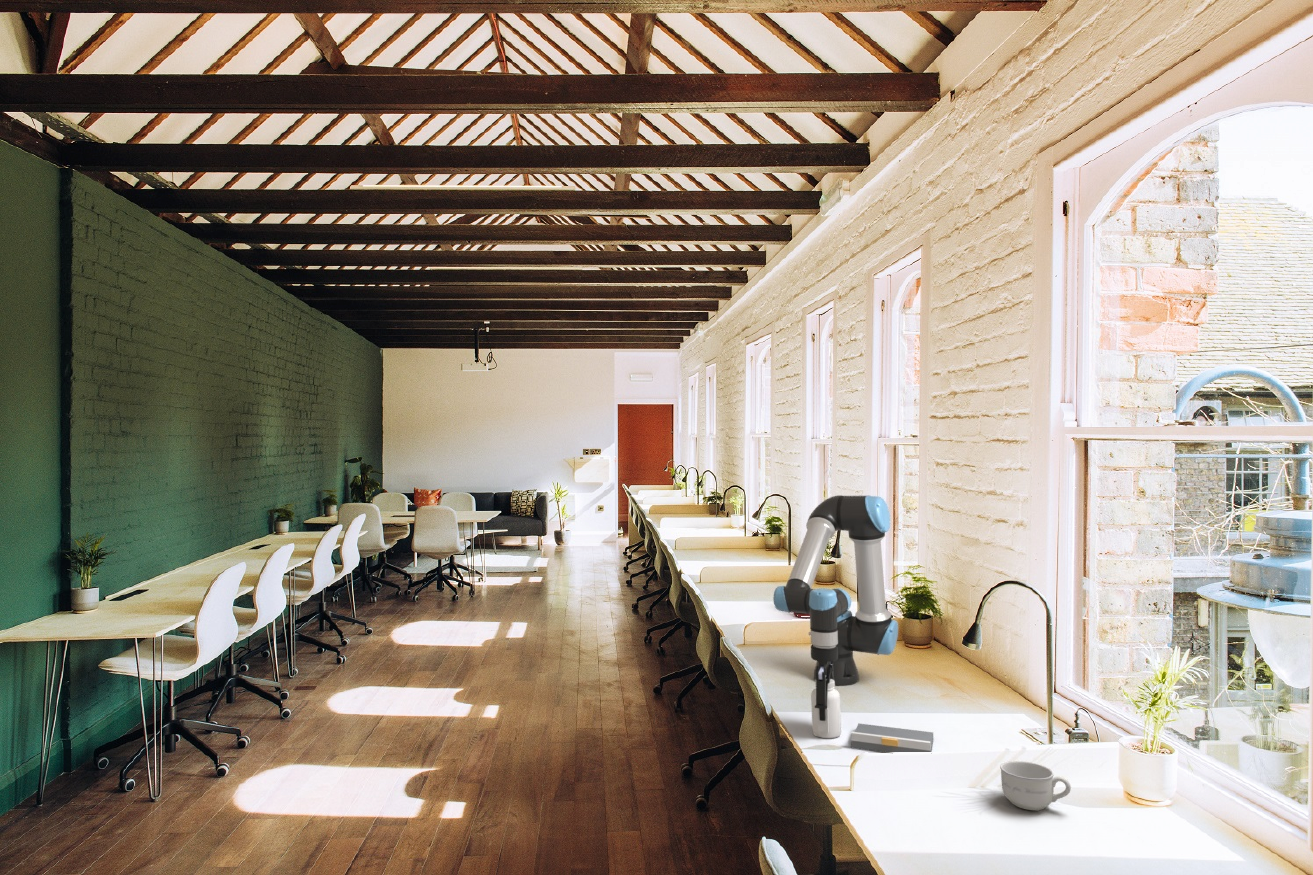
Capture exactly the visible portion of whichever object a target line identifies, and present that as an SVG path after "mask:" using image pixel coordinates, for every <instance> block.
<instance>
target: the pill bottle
mask: <svg viewBox="0 0 1313 875" xmlns="http://www.w3.org/2000/svg"><path fill="white" fill-rule="evenodd" d="M814 681H815V683H814V684H815V688H813V690H811V693H810V700H811V704H810V705H811V726H812V733H813V735H814V736H816V737H819V738H822V739H835V738H838V737H840V736H841V735H842V720H841V719H842V718H841V715H842V714H841V696H840V695H841V694H840V692H839V691H838V690H837V689H836V688H835V686H836V685H835V681H834V680H833V679H830V683H829V684H828V696H827V708H828V724H829V732H820V731H818V708H815V706H816V680H814ZM834 688H835V689H834Z"/></svg>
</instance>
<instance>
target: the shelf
mask: <svg viewBox="0 0 1313 875" xmlns="http://www.w3.org/2000/svg"><path fill="white" fill-rule="evenodd" d="M850 739H851V740H850V742H851V743H850V745H851V746H850V747H851V749H857V750H865V751H871V752H872V751H873V752H878V753H879V752H880V753H886V752H932V751H933V747H934V746H933V745H934V732H933V731H925V730H916V729H909V728H908V729H907V728H901V727H890V726H881V725H874V724H868V723H860V722H859V723H858V724H857V725H856V728H855V731H851V732H850ZM932 753H933V752H932Z"/></svg>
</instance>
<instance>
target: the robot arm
mask: <svg viewBox="0 0 1313 875" xmlns="http://www.w3.org/2000/svg"><path fill="white" fill-rule="evenodd" d="M890 517H891V515H890V510H889V507H888V504H887V502H886V501H885V499H884V498H883V497H881V496H876V495H875V496H874V495H840V494H839V495H834V496H830V497H828V498H826V499H825V500H823V501H821V503H819V504H818V505H817V506H816V507H815V508H814V509H813V510H812V512H811V513H810V515H809V516H808V519H807V521H806V526H805V527H806V530H807V531H806V533H805V536H804V538H803V541H802V544H801V545H800V549H799V551H798V554H797V557H796V558H795V562H794V563H793V566H792V570H791V573H790V574H789V577H788V581H787V582H786V585H778V586H777V587H776V588H775V589H774V592H773V597H772V598H773V599H772V600H773V605H774V607H775V609H776V610H777V611H779V612H786V613H793V612H794V613H805V614H810V618H809V627H810V631H809V632H808V633H807V634H808V635H809V636H810V644H811V645H810V658H811V659H812V660H813V661H816V664H815V667H814V669H813V679H814V681H816V684H815V686H816V687H815V689H816V706H815V708H818V731H820V732H829V724H828V708H827V696H828V684H829V683H830V679H833V680H834V681H835V686H849V685H854V684H856V683H858V682H859V680H860V678H859V677H860V675H859V669H858V668H857V664H856V662H855V659H854V652H858V653H865V654H872V655H873V654H874V655H877V656H879V655H881V656H883V655H884V656H889V655H892V654H893V652H894V650H895V648H896V645H897V640H898V636H899V624H898V621H897V620H895V619H893V618H892V613H891V611H890V610H888V608H887V606H886V592H885V580H884V566H883V554H882V542H881V541H882V540H883V539H884V538H885V537H886V533H887V532H889V531H890V528H891V523H890V522H891V518H890ZM837 531H845V532H848V538H849V540H851V541H852V542H853V545H854V547H853V548H854V556H855V557H854V558H855V568H856V570H855V571H856V581H857V593H858V594H857V596H858V603H859V604H858V605H859V606H858V607H859V609H858V610H857V611H856V612H855V615H853V612H852V610H849V609H850V608H851V606H852V599H851V595H850V594H849V592H847V590H845V589H843V588H824V587H823V588H822V587H821V588H813V585H814V583H815V579H816V576H817V574H818V572H819V568H820V566H821V562H822V560H823V557H824V554H825V552H826V549H827V546H828V543H829V542H830V539H831V538H833V537H834V536H835V533H836V532H837ZM794 613H793V614H794ZM834 689H836V688H834Z"/></svg>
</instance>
